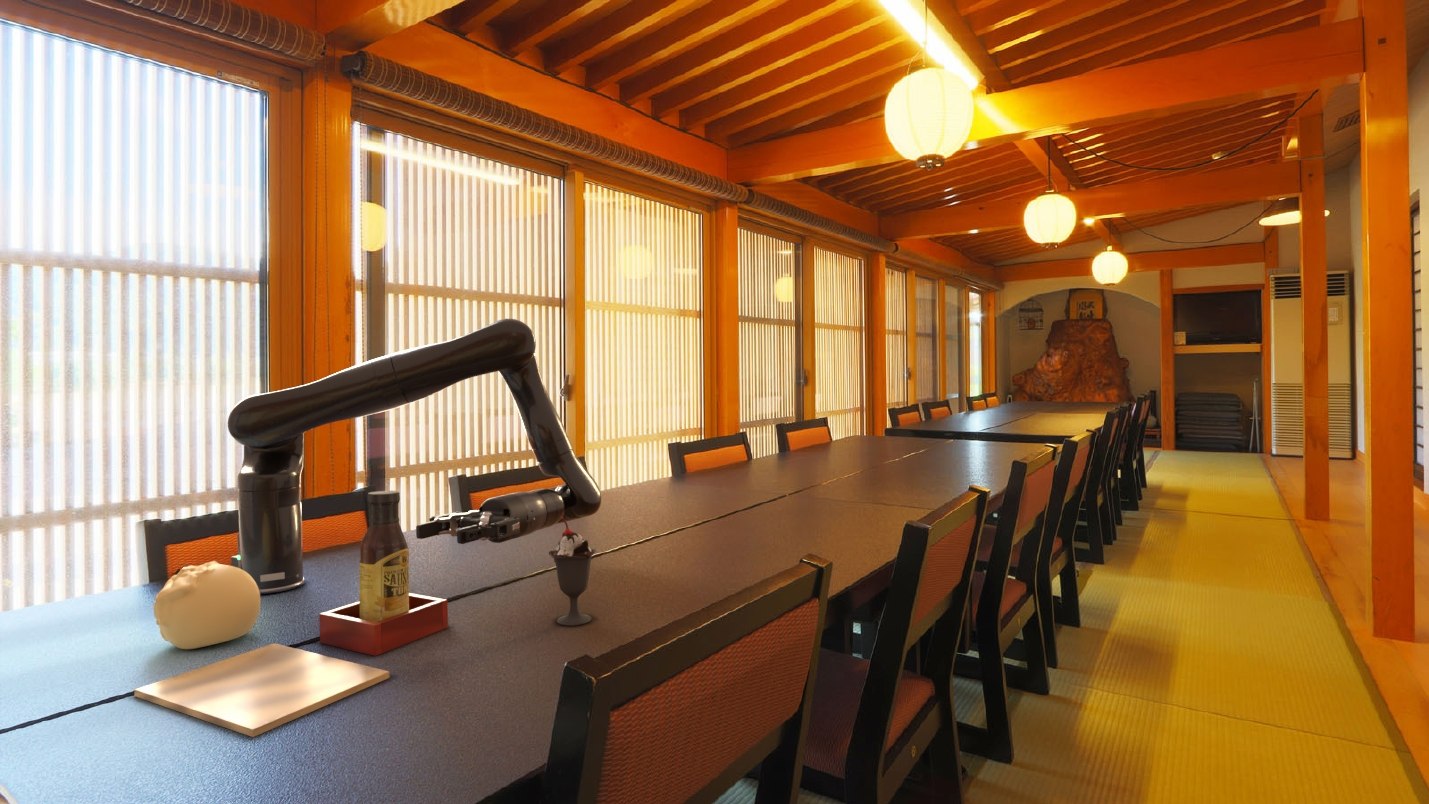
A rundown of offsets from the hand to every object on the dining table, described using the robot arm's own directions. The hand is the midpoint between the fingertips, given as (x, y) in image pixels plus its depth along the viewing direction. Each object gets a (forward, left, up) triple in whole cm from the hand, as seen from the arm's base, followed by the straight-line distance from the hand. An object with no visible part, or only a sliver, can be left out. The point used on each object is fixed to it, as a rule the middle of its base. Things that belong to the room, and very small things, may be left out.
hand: (438, 534), depth 110 cm
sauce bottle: (0, -10, -12) cm, 16 cm away
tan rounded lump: (-20, -22, -12) cm, 32 cm away
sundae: (+20, +6, -12) cm, 24 cm away
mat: (+2, -28, -12) cm, 30 cm away
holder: (0, -10, -12) cm, 15 cm away
